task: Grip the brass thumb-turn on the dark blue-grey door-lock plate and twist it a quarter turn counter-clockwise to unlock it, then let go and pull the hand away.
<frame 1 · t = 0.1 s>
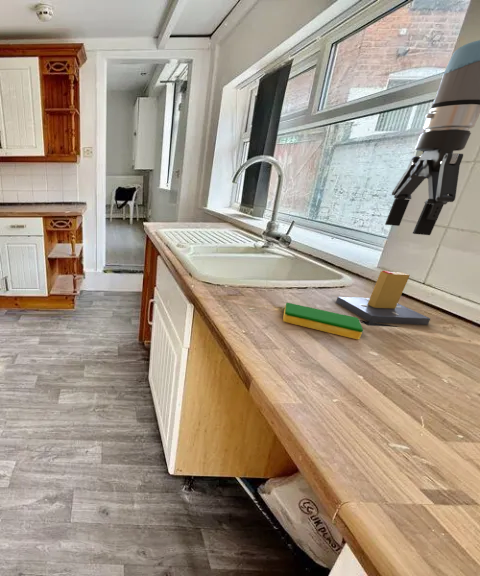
hand: (405, 229, 73), 20 cm above the countertop, tool pointing down, fingers open, 13 cm apart
lock knob: (388, 289, 72), point 7 cm above the countertop, hinge at 0.0°
lock plate: (377, 316, 74), on the countertop
dish sponge: (317, 325, 69), on the countertop
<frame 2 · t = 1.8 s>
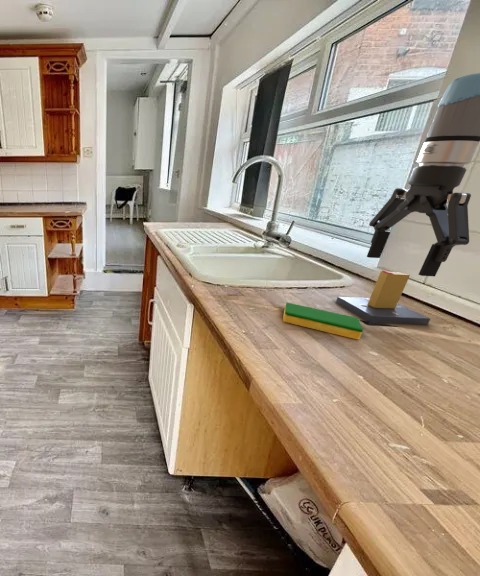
hand: (397, 265, 70), 13 cm above the countertop, tool pointing down, fingers open, 13 cm apart
nothing on the countertop moved.
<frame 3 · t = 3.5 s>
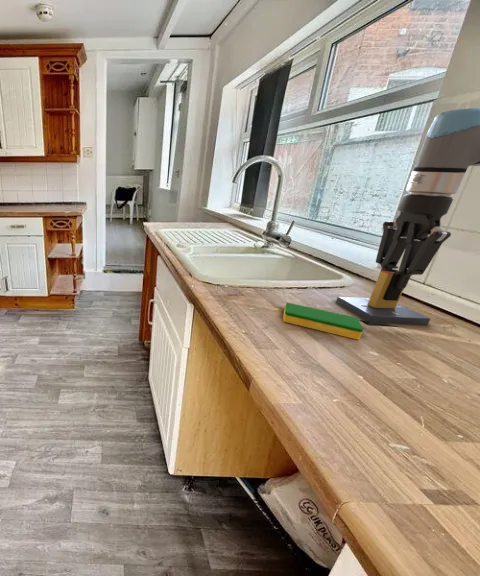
hand: (384, 297, 73), 5 cm above the countertop, tool pointing down, fingers closed on lock knob, 2 cm apart
lock knob: (388, 289, 72), point 7 cm above the countertop, hinge at 0.0°, touching gripper
everything else where it was.
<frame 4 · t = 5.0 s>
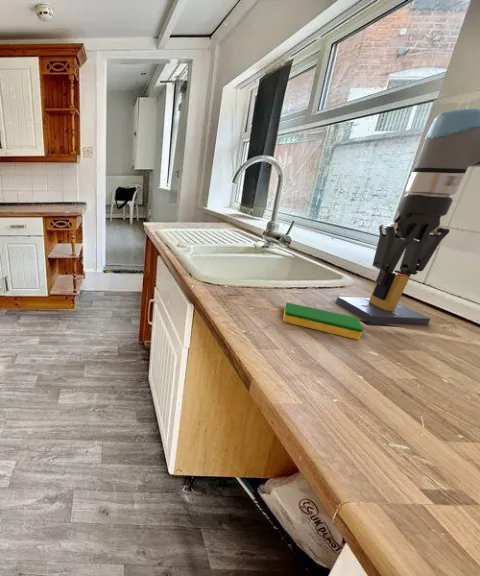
hand: (384, 297, 73), 5 cm above the countertop, tool pointing down, fingers open, 2 cm apart
lock knob: (388, 289, 72), point 7 cm above the countertop, hinge at 89.9°
everything else where it was.
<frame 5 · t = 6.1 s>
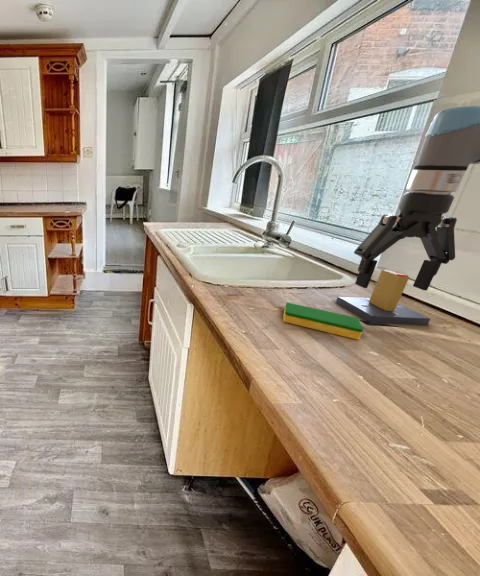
hand: (390, 287, 72), 8 cm above the countertop, tool pointing down, fingers open, 13 cm apart
nothing on the countertop moved.
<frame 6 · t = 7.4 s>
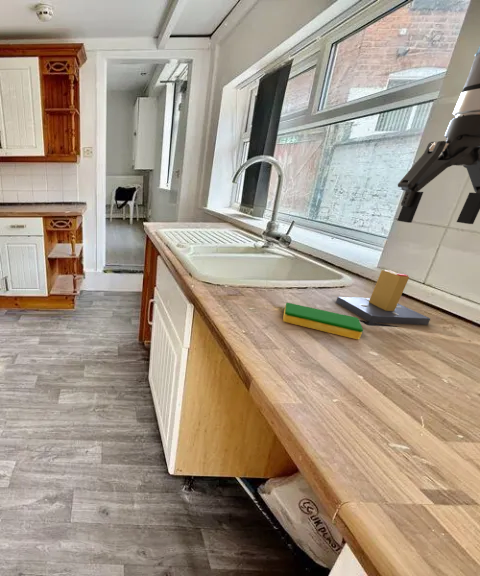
hand: (434, 222, 69), 22 cm above the countertop, tool pointing down, fingers open, 13 cm apart
nothing on the countertop moved.
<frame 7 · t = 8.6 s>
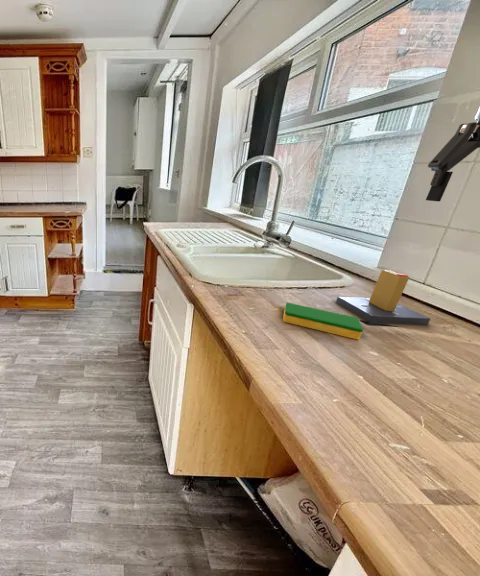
hand: (461, 202, 72), 27 cm above the countertop, tool pointing down, fingers open, 13 cm apart
nothing on the countertop moved.
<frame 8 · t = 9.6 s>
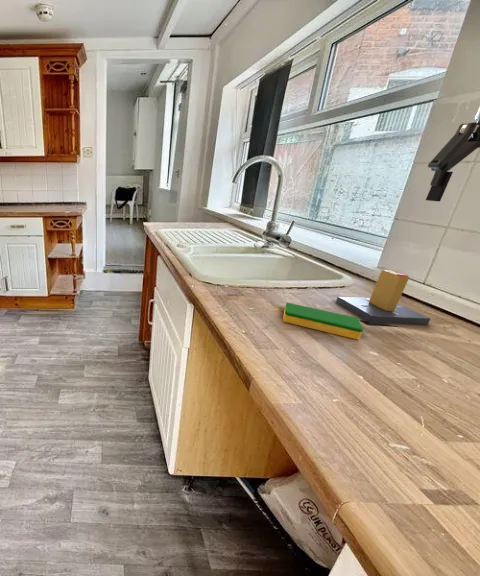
hand: (461, 202, 72), 27 cm above the countertop, tool pointing down, fingers open, 13 cm apart
nothing on the countertop moved.
at the end: lock knob at +90° (first picture: +0°); the gripper is holding nothing; dish sponge moved 0.2 cm from its start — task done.
